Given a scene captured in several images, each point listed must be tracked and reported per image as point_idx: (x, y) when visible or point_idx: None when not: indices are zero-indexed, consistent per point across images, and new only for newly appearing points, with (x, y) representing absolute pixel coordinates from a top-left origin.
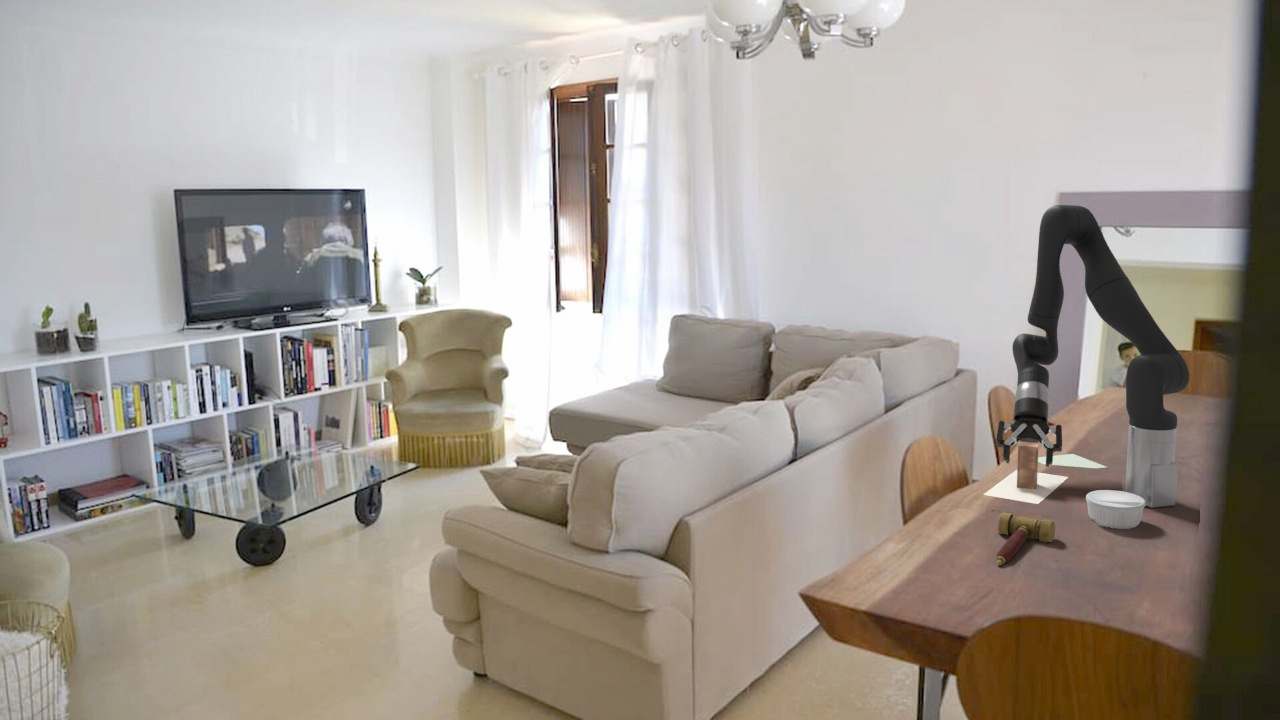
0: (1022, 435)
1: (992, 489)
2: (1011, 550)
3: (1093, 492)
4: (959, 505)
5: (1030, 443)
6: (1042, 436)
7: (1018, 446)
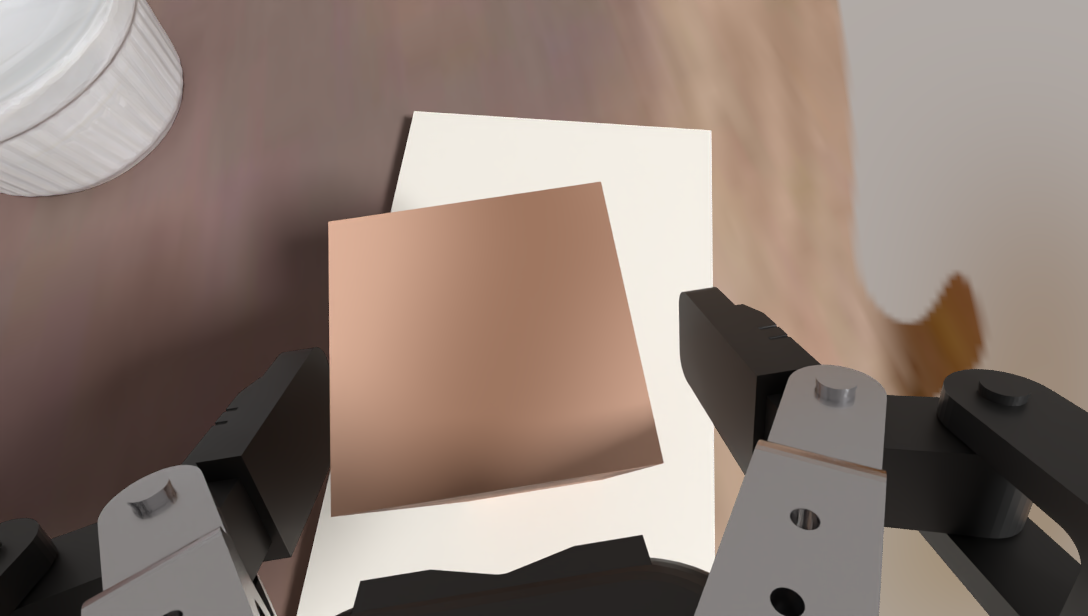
0: (650, 586)
1: (699, 241)
2: None
3: (60, 48)
4: (764, 21)
5: (457, 387)
6: (188, 591)
7: (597, 188)
